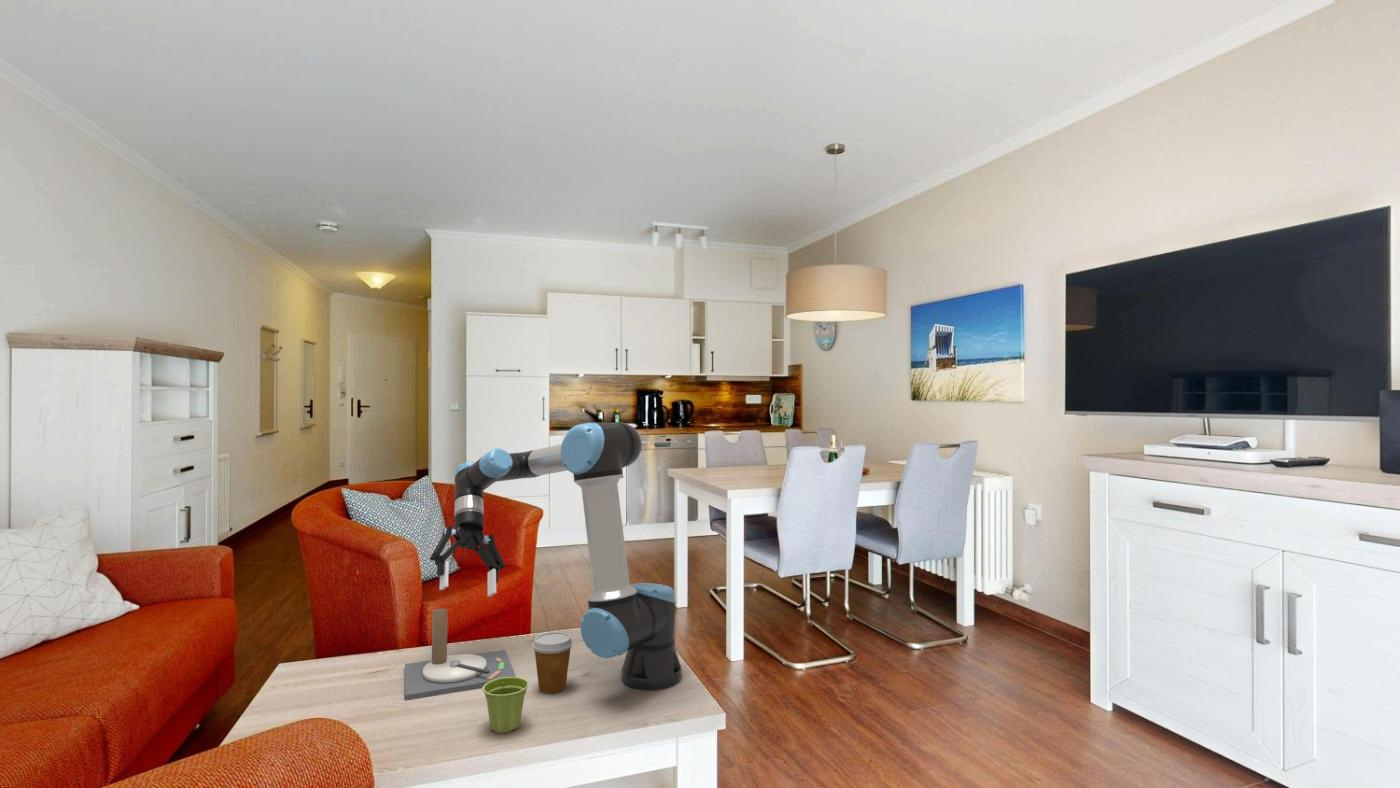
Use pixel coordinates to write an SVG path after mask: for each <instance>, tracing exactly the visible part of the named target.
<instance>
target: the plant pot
mask: <svg viewBox="0 0 1400 788" xmlns="http://www.w3.org/2000/svg"><path fill="white" fill-rule="evenodd" d="M529 683H530V682H529V681H528V680H527V679H526V678H523V677H518V676H516V677H503V678H498V679H495V680H492V681H489V682H488V683H486V684H485V685H484V686H483V688H482V691H483V693H484V696H485V698H486V705H487V712H488V720H489V728H490V730H493V732H494V733H498V734H501V733H505V734H506V733H509V732H511V731H512V730H516V729H518V728H519V727H520V725H521V721H522V714H523V708H524V702H525V695H526V693H527V689H528V688H529Z"/></svg>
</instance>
